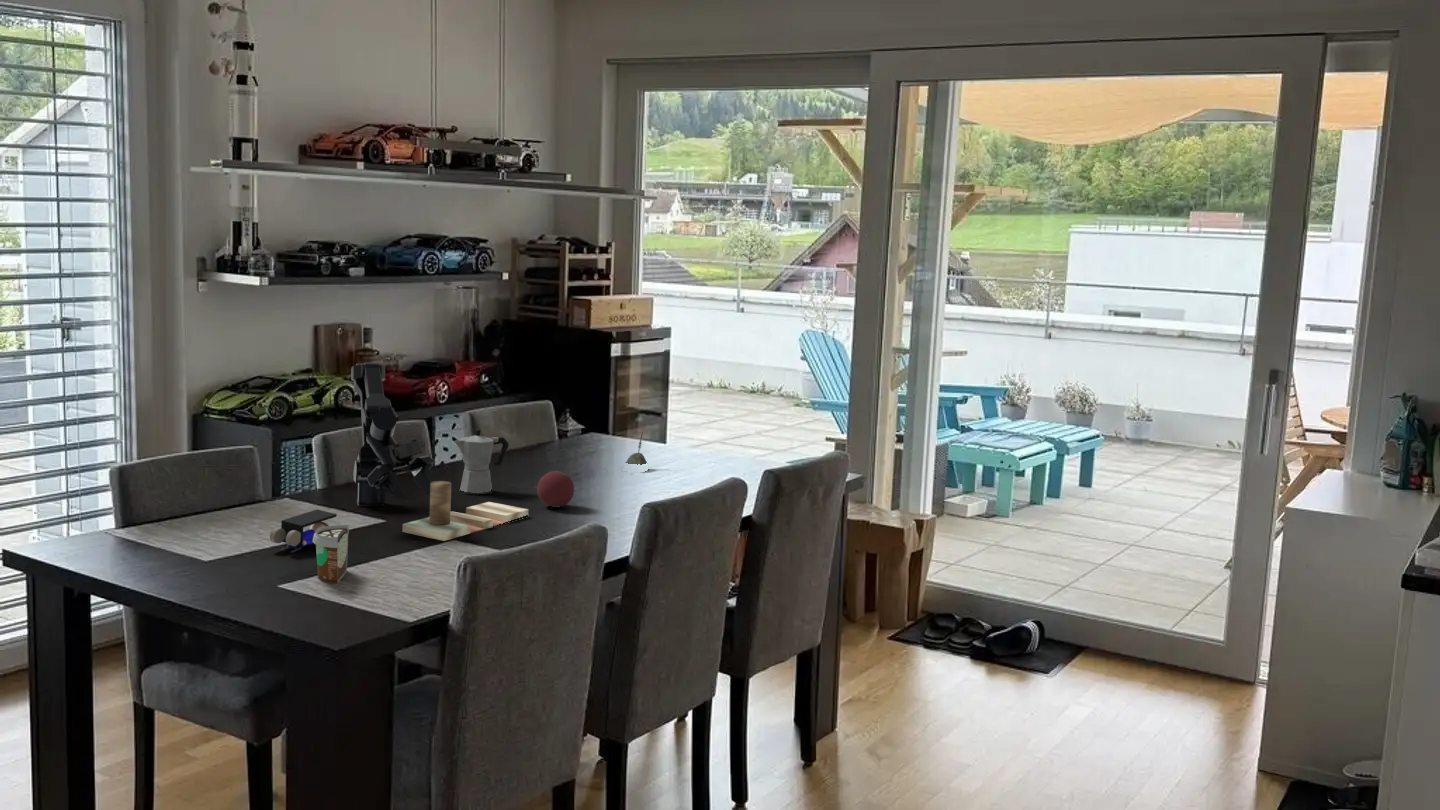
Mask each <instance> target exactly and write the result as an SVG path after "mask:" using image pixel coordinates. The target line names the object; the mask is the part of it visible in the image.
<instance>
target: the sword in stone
mask: <svg viewBox="0 0 1440 810" xmlns="http://www.w3.org/2000/svg"><path fill="white" fill-rule="evenodd" d="M643 435H644V434H643V431H642V432H641V435H640V440H639V441H638V448H637V449H638V451H637V452H634V453H632V454H631V455H630V456H629V457H628V458H627V460H626V461H625V463H628V464H637V465H638V464H640V465H642V464H646V463H647V464H648V462H647V460H646V458H645V456H644V455H643V453H642V452H641V453H640V449H641V448H642V437H643Z"/></svg>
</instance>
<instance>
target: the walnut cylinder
mask: <svg viewBox="0 0 1440 810" xmlns="http://www.w3.org/2000/svg"><path fill="white" fill-rule="evenodd" d="M451 500H452V483H451V481H446V480H435V481H430V496H429V516H428V517H429V523H430V524H431V525H439V526H441V525H448V524H450V512H451V508H452V507H451V504H452V502H451Z"/></svg>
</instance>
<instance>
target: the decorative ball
mask: <svg viewBox="0 0 1440 810" xmlns="http://www.w3.org/2000/svg"><path fill="white" fill-rule="evenodd" d="M574 485H575V484H574V482H573V480H572V479H571V477H570V476H569V475H568V474H567V473H565V472H563V471H560V470H553V471H549V472H547V473H545V474H544V475H543V476H542V477H541V478H540V479H539V481H538V482H537V488H536V490H537V491H536V493H537V496H538V498H539V500H540V501H541V502H542V503H543V504H544V505H545V506H546V505H547V506H546V507H548V506H556V507H557V506H562V507H565V506H566V505H568V504H569V503H570V502H571V500H572V499H573V497H574V495H575V494H574V492H575V486H574ZM564 505H565V506H564Z"/></svg>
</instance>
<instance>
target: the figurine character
mask: <svg viewBox="0 0 1440 810" xmlns="http://www.w3.org/2000/svg"><path fill="white" fill-rule="evenodd" d="M337 515H338V514H337V513H333V512H330V511H329V512H328V511H325V510H321V509H318V508H317V509H314V510H310V511H308V512H305V513H301V514H298V515H295V516H292V517H288V518H285V519H282V520H281V525H280V526H281V527H275V528H273V529H272V530H271V532H270V534H269V539H270V541H271V542H272V543H275V544H281V543H286V544H287V545H286V546H285V547H282V548H281V549H280V550H281V551H282V552H285V551H287V550H290V549H294V550H291V551H290V553H291V554H293V553H296V552H298V551H300V550H301V549H302V548H303V547H305V546H307V545H310V544H314V543H313V537H314V534H315V532H316V530H317V529H319V528H322V527H326V526H330V525H329V524H328V523H326V522H325V521H327V520H331V519H334V518H336V517H337ZM309 526H310V528H308V529H306V530H304V528H307V527H309Z"/></svg>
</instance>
